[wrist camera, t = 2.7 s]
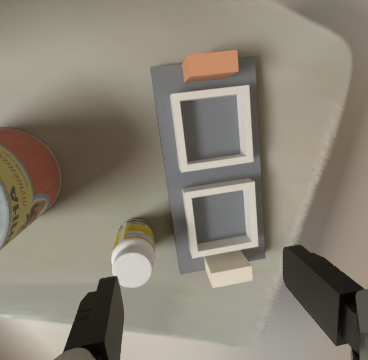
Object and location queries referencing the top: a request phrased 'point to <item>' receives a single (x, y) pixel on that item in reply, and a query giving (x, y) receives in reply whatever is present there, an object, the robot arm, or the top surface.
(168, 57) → the top surface
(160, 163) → the top surface
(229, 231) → the holder board
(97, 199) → the top surface
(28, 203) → the canned food
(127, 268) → the supplement bottle
